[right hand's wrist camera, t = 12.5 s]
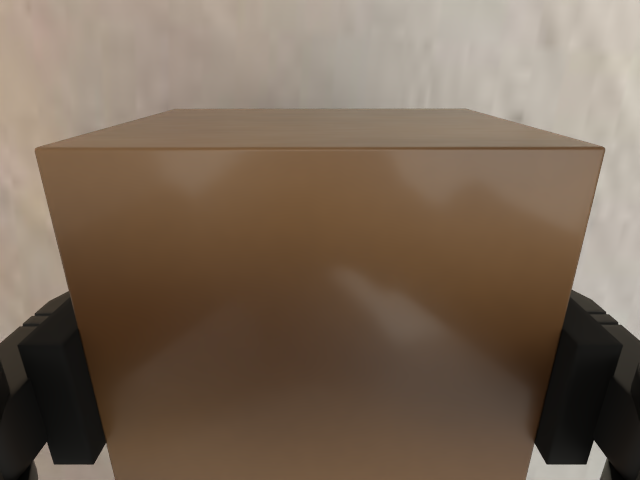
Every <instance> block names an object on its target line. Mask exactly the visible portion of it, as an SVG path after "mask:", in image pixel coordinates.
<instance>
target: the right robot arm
mask: <svg viewBox="0 0 640 480" xmlns="http://www.w3.org/2000/svg"><path fill="white" fill-rule="evenodd" d="M593 441H595V442H596V443H597V445H598V446H599V447H600V449H601V450H602V452H603V453H604V454H605V456H606V457H607V460H606V463H605V466H604V469H603V472H602V475H601V478H600V480H640V340H638V339H637V338H636V337H635V336H634V335H632V334H631V333H630V332H629V331H628V330H627V329H625V328H624V327H623V326H622V325H618V322H617V321H616V320H615V319H614V318H613V317H611V316H610V315H609V314H606V312H605V311H604V310H603V309H602V308H601V307H600V306H598V305H597V304H596V303H595V302H594V301H593V300H591V299H589V298H587V297H585V296H583V295H581V294H579V293H577V292H575V291H573V290H571V294H570V298H569V302H568V306H567V310H566V314H565V318H564V323H563V327H562V331H561V335H560V339H559V343H558V347H557V352H556V356H555V360H554V364H553V368H552V372H551V376H550V381H549V385H548V389H547V393H546V397H545V401H544V405H543V410H542V414H541V418H540V422H539V426H538V430H537V434H536V438H535V445H536V446H537V448H538V450H539V452H540V453H541V455H542V457H543V459H544V460H545V462H546V464H587V461H588V457H589V454H590V451H591V448H592V444H593ZM46 442H47V443H48V446H49V450H50V453H51V456H52V459H53V463H54V464H94V463H95V461H96V459H97V458H98V456H99V454H100V452H101V451H102V449H103V447H104V445H105V444H106V440H105V436H104V432H103V428H102V424H101V419H100V415H99V411H98V407H97V403H96V399H95V395H94V391H93V387H92V383H91V379H90V375H89V370H88V366H87V362H86V358H85V354H84V350H83V346H82V342H81V338H80V334H79V330H78V326H77V321H76V317H75V313H74V309H73V305H72V301H71V297H70V293H69V291H68V292H66V293H64V294H63V295H61V296H59V297H57V298H55V299H53V300H51V301H49V302H48V303H47V304H45V305H44V306H43V307H42V308H41V309H40V310H38V311H37V312H36V313H35V316H31V317H30V318H29V319H28V320H27V321H26V322H24V323H23V326H22V327H19V328H17V329H16V330H15V331H14V332H13V333H12V334H10V335H9V336H8V337H7V338H6V339H5V340H3V341H2V342H1V343H0V480H38V474H37V469H36V466H35V463H34V459H35V457H36V456H37V454H38V453H39V452H40V450H41V449H42V448H43V446H44V445H45V444H46Z"/></svg>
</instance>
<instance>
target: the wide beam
mask: <svg viewBox="0 0 640 480" xmlns="http://www.w3.org/2000/svg"><path fill="white" fill-rule="evenodd" d="M604 153H605V148H604V147H602V146H599V145H595V144H591V143H588V142H584V141H580V140H577V139H573V138H570V137H566V136H562V135H559V134H555V133H552V132H548V131H544V130H541V129H537V128H534V127H530V126H526V125H523V124H519V123H515V122H512V121H508V120H505V119H501V118H497V117H494V116H490V115H487V114H483V113H479V112H476V111H472V110H469V109H174V110H170V111H166V112H163V113H159V114H156V115H152V116H148V117H145V118H141V119H138V120H134V121H130V122H127V123H123V124H120V125H116V126H112V127H109V128H105V129H102V130H98V131H94V132H91V133H87V134H84V135H80V136H76V137H73V138H69V139H66V140H62V141H58V142H55V143H51V144H48V145H44V146H40V147H37V148H35V154H36V158H37V162H38V166H39V170H40V175H41V179H42V183H43V187H44V191H45V195H46V199H47V203H48V207H49V211H50V215H51V219H52V223H53V228H54V232H55V236H56V240H57V244H58V248H59V252H60V256H61V260H62V264H63V268H64V272H65V277H66V281H67V285H68V289H69V293H70V297H71V301H72V305H73V309H74V313H75V317H76V321H77V326H78V330H79V334H80V338H81V342H82V346H83V350H84V354H85V358H86V362H87V366H88V370H89V375H90V379H91V383H92V387H93V391H94V395H95V399H96V403H97V407H98V411H99V415H100V419H101V424H102V428H103V432H104V436H105V440H106V444H107V448H108V452H109V456H110V460H111V464H112V468H113V472H114V477H115V480H526V476H527V472H528V467H529V463H530V459H531V455H532V451H533V447H534V443H535V438H536V434H537V430H538V426H539V422H540V418H541V414H542V410H543V405H544V401H545V397H546V393H547V389H548V385H549V381H550V376H551V372H552V368H553V364H554V360H555V356H556V352H557V347H558V343H559V339H560V335H561V331H562V327H563V323H564V318H565V314H566V310H567V306H568V302H569V298H570V294H571V289H572V285H573V281H574V277H575V273H576V269H577V265H578V260H579V256H580V252H581V248H582V244H583V240H584V236H585V232H586V227H587V223H588V219H589V215H590V211H591V207H592V203H593V198H594V194H595V190H596V186H597V182H598V178H599V174H600V169H601V165H602V161H603V157H604Z"/></svg>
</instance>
